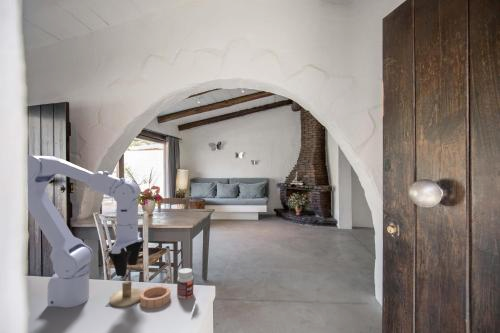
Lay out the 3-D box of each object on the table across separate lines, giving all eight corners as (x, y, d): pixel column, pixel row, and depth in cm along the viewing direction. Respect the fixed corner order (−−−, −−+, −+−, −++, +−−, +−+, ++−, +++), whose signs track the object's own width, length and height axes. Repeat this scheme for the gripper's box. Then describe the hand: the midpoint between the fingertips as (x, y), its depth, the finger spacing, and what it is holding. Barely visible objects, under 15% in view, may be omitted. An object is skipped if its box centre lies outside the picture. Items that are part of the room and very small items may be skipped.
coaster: (105, 309, 74) (105, 306, 74) (119, 294, 82) (119, 291, 82) (135, 309, 74) (135, 306, 74) (146, 294, 82) (146, 291, 82)
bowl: (135, 311, 73) (135, 299, 73) (146, 296, 81) (146, 285, 81) (165, 311, 73) (165, 299, 73) (173, 296, 81) (173, 285, 81)
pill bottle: (189, 303, 78) (189, 274, 78) (174, 301, 79) (174, 273, 78) (195, 295, 82) (196, 268, 82) (181, 293, 83) (181, 266, 83)
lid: (103, 306, 73) (103, 290, 73) (118, 290, 82) (118, 276, 82) (136, 306, 74) (136, 290, 74) (147, 290, 83) (147, 276, 83)
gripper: (130, 230, 70) (130, 281, 71) (149, 218, 85) (149, 260, 85) (103, 229, 70) (103, 281, 71) (127, 218, 85) (127, 260, 85)
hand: (127, 269), depth 78 cm, fingers open, 7 cm apart
